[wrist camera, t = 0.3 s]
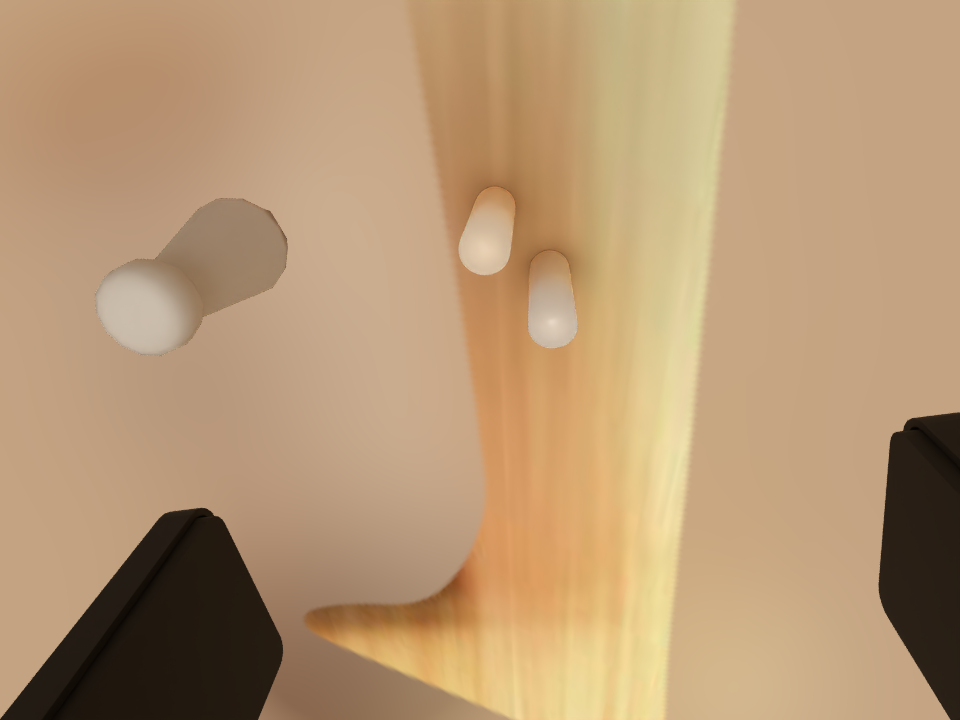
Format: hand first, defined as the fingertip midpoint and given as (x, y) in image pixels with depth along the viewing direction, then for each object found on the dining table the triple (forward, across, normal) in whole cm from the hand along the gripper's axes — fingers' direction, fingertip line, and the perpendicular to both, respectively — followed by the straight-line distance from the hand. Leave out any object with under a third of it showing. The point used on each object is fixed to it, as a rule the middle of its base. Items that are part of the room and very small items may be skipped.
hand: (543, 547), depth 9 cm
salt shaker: (+30, +18, +1) cm, 35 cm away
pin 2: (+30, 0, +6) cm, 31 cm away
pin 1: (+30, +3, +2) cm, 30 cm away
